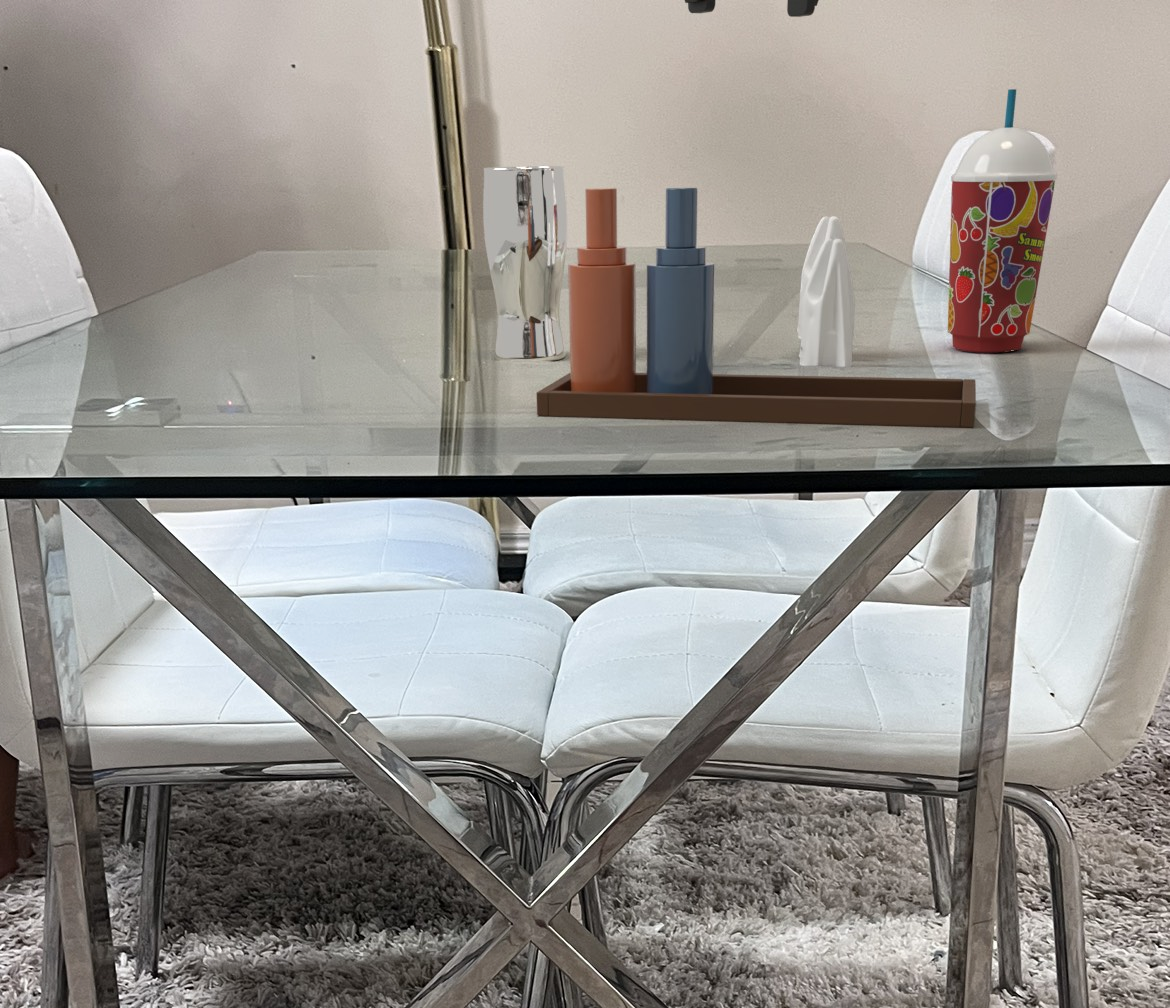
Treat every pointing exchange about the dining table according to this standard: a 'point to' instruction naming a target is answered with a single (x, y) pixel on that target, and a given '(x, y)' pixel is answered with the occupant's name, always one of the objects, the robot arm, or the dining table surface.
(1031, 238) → the smoothie
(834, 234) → the shaker set
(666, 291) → the slate-blue bottle
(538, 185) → the beer glass
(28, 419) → the dining table surface
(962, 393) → the tray
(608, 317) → the terracotta bottle
